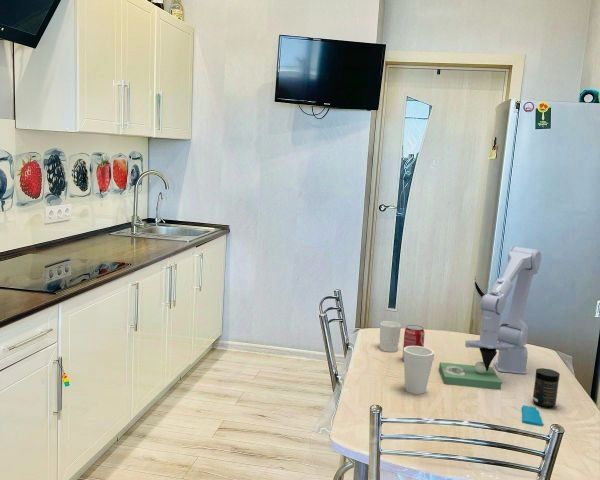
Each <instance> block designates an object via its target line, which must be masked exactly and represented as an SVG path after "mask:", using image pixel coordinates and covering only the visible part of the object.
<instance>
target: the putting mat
mask: <svg viewBox="0 0 600 480" xmlns="http://www.w3.org/2000/svg"><path fill="white" fill-rule="evenodd" d="M438 365H439V366H438V371H439V373H440V376H441V379H442V381H443V385H452V386H459V387H460V386H462V387H471V388H481V389H492V390H500V391H501V388H502V381H501V380H500V377H499V376H498V374H497V372H496V371H495V370H494V367H492V366H489V369H488V371H486V372H485V373H483V374H480V373H478V372H476V370H475V365H473V364H472V365H471V364H462V363H452V362H451V363H450V362H441V361H440V362H439V364H438Z"/></svg>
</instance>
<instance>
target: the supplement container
mask: <svg viewBox="0 0 600 480" xmlns="http://www.w3.org/2000/svg"><path fill="white" fill-rule="evenodd" d="M534 375H535V377H534V385H533V394H532V403H533V404H534V405H535V406H537V407H539V408H542V409H548V410H549V409H554V408H555V407H556V405H557V396H558V389H559V382H560V376H561V375H560V372H559V371H557V370H554V369H550V368H543V367H542V368H541V367H539V368H537V369H536V370H535V374H534Z"/></svg>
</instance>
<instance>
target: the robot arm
mask: <svg viewBox="0 0 600 480" xmlns="http://www.w3.org/2000/svg"><path fill="white" fill-rule="evenodd" d="M541 262H542V254H541V252H540V249H537V248H536V249H534V248H528V247H521V246H515V245H512V246H510V248H509V250H508V253H507V265H506V267H505V270H504V272H502V273H503V274H502V276H501V277H498V278H496V279H495V281H494V283H493V285H492V286H491V288H490V290H489V292H488V293H486V294H484V295H483V296H482V297H481V299H480V303H479V308H480V315H481V323H480V333H479V340H467V339H466V340H465V343H464V346H465V348H474V349H479V351H480V355H481V358H482V362H484V363H485V368H486V371H488V369H489V367H491V366H490V365H491V363H492V362H493V360H494V359H495V357H496V356H497V354H498V357H497V362H494V363H493V365H494V367H495V368H496V370H497V371H498V372H499V373H500V372H501V373H509V374H510V373H511V374H521V375H526V374H527V366H528V365H527V364H528V348H527V347H526V345H527V342H528V337H529V334H528V333H529V327H528V325H527V324H526V322H525V321H524V320H523V318H524V314H525V313H524V312H525V310H526V305H527V301H528V297H529V293H530V288H531V285H532V280H533V276H534V275H536V274H537V275H538V272H539V270H540V266H541ZM516 277H517V278H516ZM515 278H516V281H515V285H514V290H513V294H512V298H511V301H510V302H511V303H510V306H509V310H508V314H507V316H506V317H504V318H502V319H501V314H502V313H504V310H505V308H506V304H507V298H508V296H509V295H510V294H511V293H510V292H511V291H512V289H513V282H514V280H515ZM497 351H498V352H497Z"/></svg>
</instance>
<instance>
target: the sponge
mask: <svg viewBox="0 0 600 480" xmlns="http://www.w3.org/2000/svg"><path fill="white" fill-rule="evenodd" d="M521 423H523V424H525V425H526V424H527V425H532V426H538V427H543V426H544V422H543V420H542V417H541V414H540V411H539V410H538V409H537V408H536V406H530V405H522V406H521Z"/></svg>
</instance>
